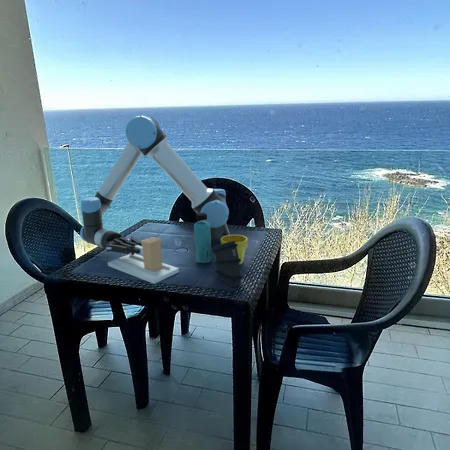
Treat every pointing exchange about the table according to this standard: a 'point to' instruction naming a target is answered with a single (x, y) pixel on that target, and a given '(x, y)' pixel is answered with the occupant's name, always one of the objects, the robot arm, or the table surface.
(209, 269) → the table surface
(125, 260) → the switch panel
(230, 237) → the plant pot
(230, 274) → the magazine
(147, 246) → the switch tab
